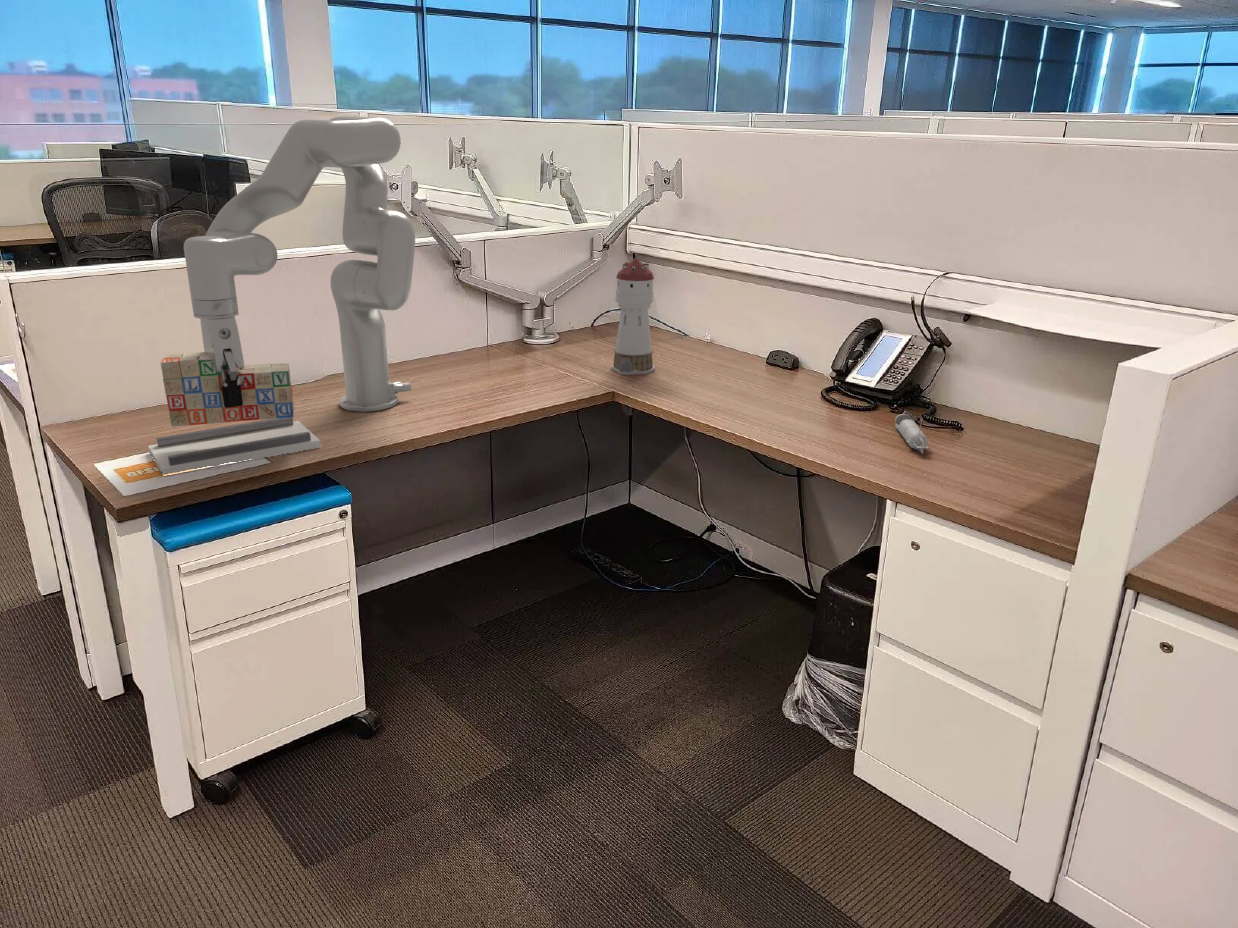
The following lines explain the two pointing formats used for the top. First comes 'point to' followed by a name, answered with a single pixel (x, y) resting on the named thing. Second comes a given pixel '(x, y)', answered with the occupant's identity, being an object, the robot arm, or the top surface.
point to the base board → (231, 444)
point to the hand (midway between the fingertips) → (228, 400)
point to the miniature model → (634, 319)
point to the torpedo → (911, 432)
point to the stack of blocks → (201, 397)
